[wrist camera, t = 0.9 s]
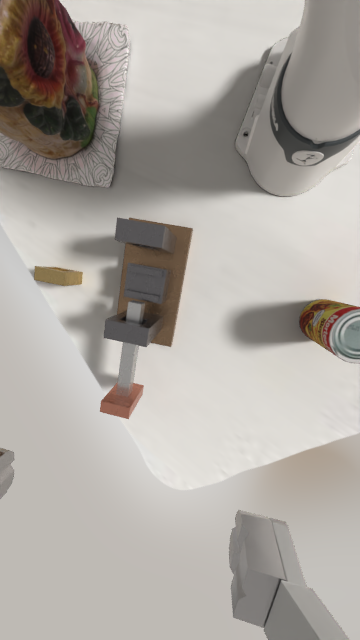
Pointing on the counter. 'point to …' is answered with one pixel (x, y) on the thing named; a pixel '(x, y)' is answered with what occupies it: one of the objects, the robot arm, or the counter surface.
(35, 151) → the cookie jar
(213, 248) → the counter surface
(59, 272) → the frame
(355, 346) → the canned food
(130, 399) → the shaft
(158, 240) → the shaft rig
